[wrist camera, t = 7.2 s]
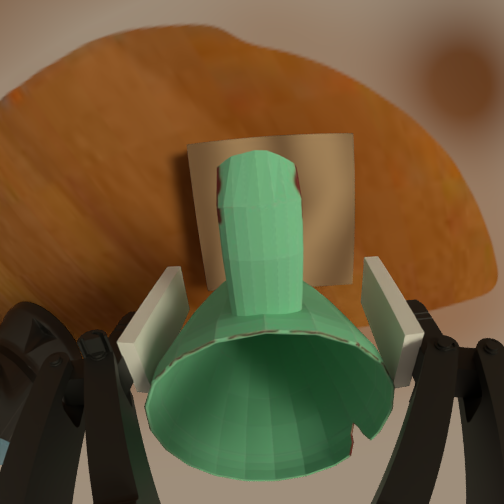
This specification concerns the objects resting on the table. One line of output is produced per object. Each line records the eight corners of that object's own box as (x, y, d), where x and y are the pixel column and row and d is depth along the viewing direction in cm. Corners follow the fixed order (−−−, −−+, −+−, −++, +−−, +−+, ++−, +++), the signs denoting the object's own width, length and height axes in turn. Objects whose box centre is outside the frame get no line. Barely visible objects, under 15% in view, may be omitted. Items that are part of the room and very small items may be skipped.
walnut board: (213, 276, 34) (208, 290, 31) (195, 142, 29) (186, 144, 26) (346, 270, 33) (352, 284, 30) (345, 132, 27) (353, 133, 24)
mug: (333, 351, 22) (371, 466, 13) (197, 362, 22) (178, 482, 13) (337, 135, 16) (436, 153, 7) (159, 150, 17) (66, 182, 7)
